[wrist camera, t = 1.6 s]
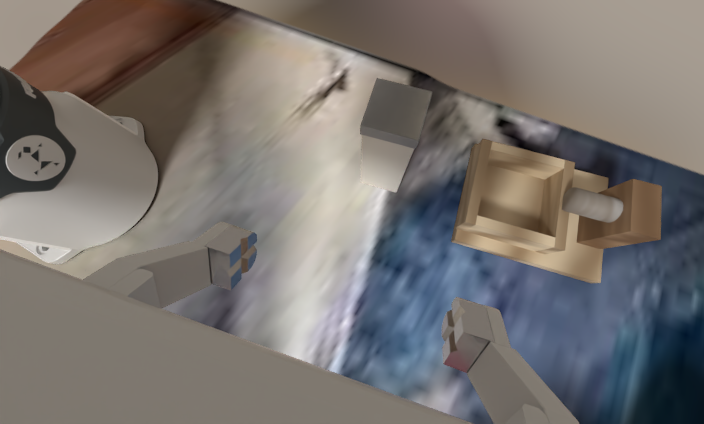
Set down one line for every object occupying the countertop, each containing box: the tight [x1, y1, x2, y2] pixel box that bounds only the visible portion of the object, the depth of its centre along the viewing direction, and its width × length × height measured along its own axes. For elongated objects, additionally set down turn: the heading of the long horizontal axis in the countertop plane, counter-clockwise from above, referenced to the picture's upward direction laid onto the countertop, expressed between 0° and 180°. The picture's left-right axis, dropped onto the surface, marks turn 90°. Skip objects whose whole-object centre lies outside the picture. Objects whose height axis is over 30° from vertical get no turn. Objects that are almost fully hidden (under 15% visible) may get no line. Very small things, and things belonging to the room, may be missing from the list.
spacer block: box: [360, 78, 432, 193], centre depth 27 cm, size 5×5×12 cm
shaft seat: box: [451, 139, 662, 283], centre depth 28 cm, size 15×12×7 cm
